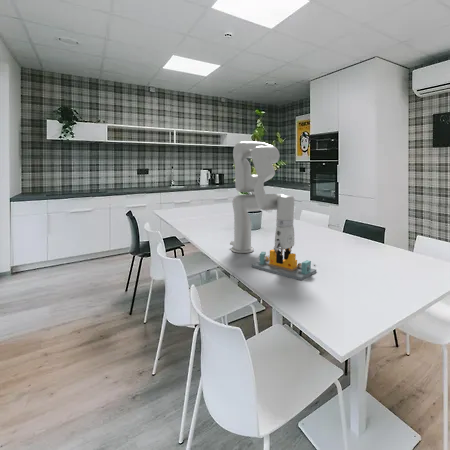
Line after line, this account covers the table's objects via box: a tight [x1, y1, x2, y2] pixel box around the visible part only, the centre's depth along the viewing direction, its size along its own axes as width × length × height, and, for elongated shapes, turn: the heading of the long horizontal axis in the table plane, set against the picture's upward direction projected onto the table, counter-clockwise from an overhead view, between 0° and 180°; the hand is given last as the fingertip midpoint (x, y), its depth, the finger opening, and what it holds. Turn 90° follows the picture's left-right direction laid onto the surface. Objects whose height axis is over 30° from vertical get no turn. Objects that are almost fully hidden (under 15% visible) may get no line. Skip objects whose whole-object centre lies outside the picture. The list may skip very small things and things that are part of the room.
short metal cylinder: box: [258, 254, 270, 262], centre depth 148 cm, size 4×3×3 cm, turn 73°
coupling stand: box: [251, 251, 317, 281], centre depth 142 cm, size 26×14×6 cm, turn 48°
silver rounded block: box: [297, 262, 310, 271], centre depth 135 cm, size 4×3×3 cm, turn 48°
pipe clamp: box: [269, 248, 298, 269], centre depth 141 cm, size 12×4×6 cm, turn 50°
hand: (283, 261), depth 142 cm, fingers open, 5 cm apart
